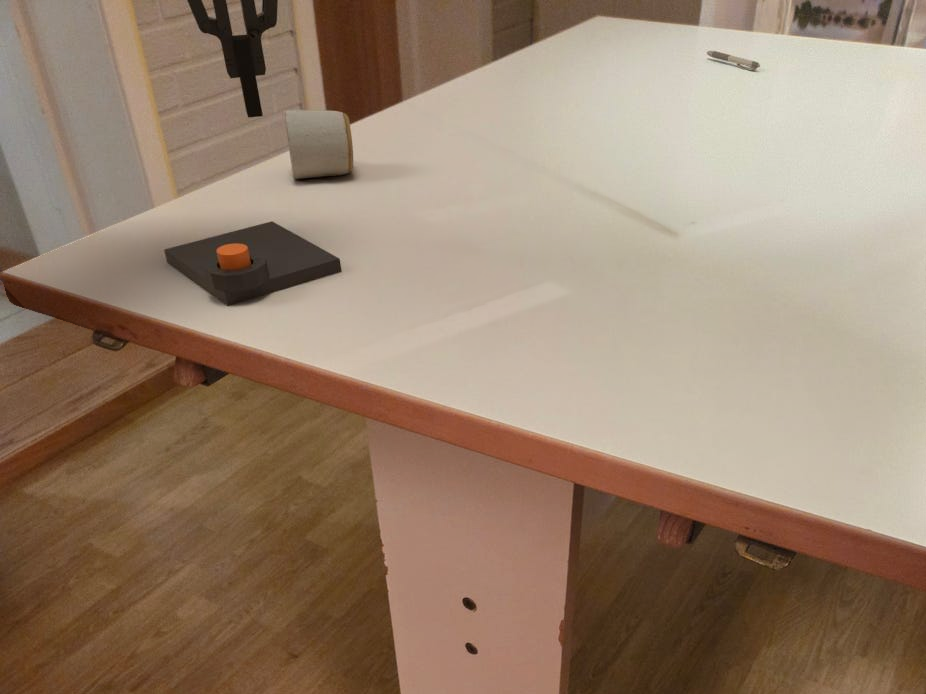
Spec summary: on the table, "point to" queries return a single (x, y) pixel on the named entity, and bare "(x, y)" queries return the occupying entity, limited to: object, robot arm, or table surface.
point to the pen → (735, 60)
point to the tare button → (233, 257)
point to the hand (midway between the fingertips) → (254, 113)
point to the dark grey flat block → (253, 263)
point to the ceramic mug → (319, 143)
